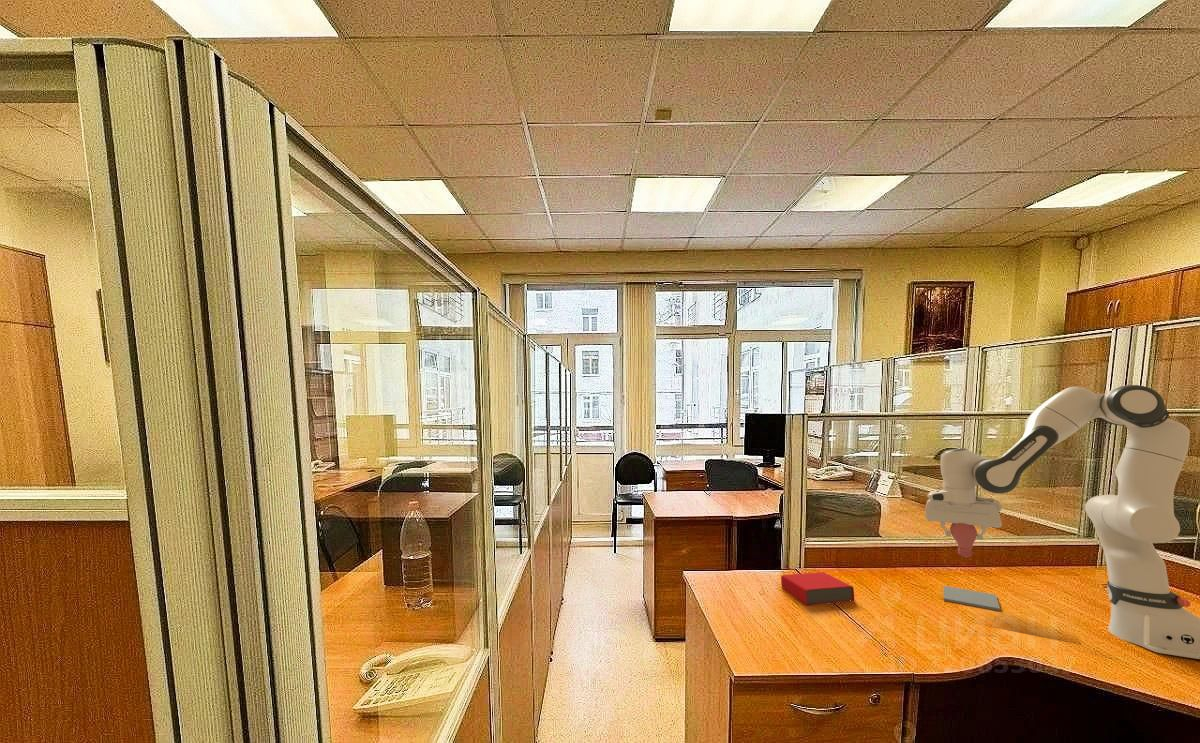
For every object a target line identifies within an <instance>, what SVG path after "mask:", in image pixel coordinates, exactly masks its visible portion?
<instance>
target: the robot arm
mask: <svg viewBox="0 0 1200 743" xmlns="http://www.w3.org/2000/svg"><path fill="white" fill-rule="evenodd" d="M1169 418H1170V414H1169V411H1168V409H1167V406H1166V405H1165V401H1164V399H1163V396H1161V395H1160V393H1159V392H1158V391H1156V390H1154V389H1153V388H1151V387H1148V386H1145V385H1138V384H1128V385H1127V384H1126V385H1121V386H1118V387H1116V388H1113V389H1111V390H1108V391H1107V392H1104V393H1096V392H1094V391H1092V390H1090V389H1087V388H1084V387H1080V386H1069V387H1067V388H1064V389H1062V390H1060V391H1059V392H1056V394H1054V395H1053V396H1051V397H1050V398H1048V399H1046V400H1045V401H1044V402H1043V403H1041V404H1040V405H1039V406H1037V408H1035V409H1034V410H1033V411H1032V412H1031V414H1030V415H1029V416H1028V417H1027V418H1026V420H1025V421H1024V433H1023V435H1022V437H1021V438H1020V439H1019V440H1018V441H1017V442H1016V443H1015V444H1014V445H1013V446H1012V447H1010V449H1008V450H1006V451H1005V453H1004V454H1002V456H1000V457H998V458H995V459H993V458H989V457H986V456H982V455H980V454H977V453H975V452H974V451H973V452H972V451H971V450H969V449H968V448H962V447H961V448H952V449H946V450H945V451H942V453H941V454H940V458H939V459H940V466H939V467H940V474H941V477H942V480H943V481H942V489H939V490H932V491H930V492H928V494H927V498H928V499H927V501H926V504H925V511H924V512H925V514H924V515H925V520H927V521H929V522H936V523H937V522H938V523H940V526H941V528H942V529H943V531H944V533H945V536H946V537H951V536H952V534H951V532H950V529H947V528H946V523H947V524H952V523H955V524H957V523H965V524H968V525H973V526H974V527H975V526H976V527H980V530H981V531H980V532H979V533H978V532H977V537H976V539H977V540H980V541H984V534H985V533H986V531H987V527H988V528H997V529H999V528H1001V527H1002V525H1003V523H1002V519H1001V515H1000V512H1001V511H1002V506H1001V503H1000V501H999V500H997V499H994V498H992V497H989V498H988V497H979V496H978V497H977V493H976V492H977V491H976V486H980V487H981V488H982V489H983V490H985V491H987V492H990V493H992V494H993V493H994V494H1006V493H1009V492H1012V491H1013V490H1014V489H1015V488H1016V487H1017V486H1018V484H1019V481H1020V479H1021V475H1022V474H1023V472H1024V471H1026V469H1027V468H1028V467H1030V466H1031V465H1032V464H1033V463H1034V462H1035V461H1037V460H1038V459H1039V458H1040V457H1041V456H1042V455H1043V454H1045V453H1046V451H1048V450H1050V449H1051V448H1053V447H1054V446H1056V445H1058V444H1059V443H1061V442H1063V441H1065V440H1067V439H1068V438H1069V437H1070V436H1072V435H1074V434H1075V433H1076V432H1078V431H1079V430H1080V429H1081V428H1083V427H1084V426H1085V425H1086V424H1088V423H1089V422H1091V421H1092V420H1098V421H1100V422H1104V423H1106V424H1110V425H1115V426H1125V427H1126V428H1127V431H1128V440H1127V441H1126V444H1125V446H1124V448H1123V450H1122V453H1121V456H1120V457H1119V461H1118V463H1117V466H1116V469H1115V471H1114V472H1115V473H1114V474H1115V476H1116V479H1117V495H1116V494H1101V495H1095V496H1092V497H1091V498H1089V499H1088V500H1087V501H1086V503H1085V507H1084V510H1085V513H1086V515H1087V517H1088V518H1089V519H1090V520H1091V522H1092V525H1093V527H1094V529H1095V533H1096V534H1097V538H1098V540H1099V542H1100V544H1101V547H1102V550H1103V552H1104V558H1105V564H1106V568H1107V570H1106V571H1107V575H1108V576H1107V577H1108V580H1107V582H1106V584H1107V586H1106V589H1107V596H1108V599H1109V602H1110V618H1109V619H1110V620H1109V624H1108V627H1107V630H1108V632H1109V633H1110V634H1112V635H1113V636H1115V637H1116V638H1118V639H1121V640H1122V641H1125V642H1128V643H1131V644H1133V645H1137V646H1139V647H1143V648H1145V649H1148V650H1149V651H1153V652H1154V653H1158V654H1164V655H1171V656H1176V657H1184V658H1191V659H1196V660H1200V617H1198V616H1197V615H1196V614H1193V613H1192V612H1190V611H1189V610H1187V609H1186V608H1189V607H1190V606H1192V603H1191V602H1190V601H1189V600H1188V599H1187V598H1186V597H1182V596H1180V595H1179V594H1177V593H1175V592H1173V591H1171V590H1170V585H1169V577H1168V571H1167V566H1166V562H1165V560H1164V559H1163V558H1162V556H1160V554H1159V553H1158V551H1157V549H1156V548H1155V545H1154V544H1155V543H1156V544H1162V543H1163V544H1164V543H1168V542H1172V541H1173V540H1175V539H1176V538H1177V537H1178V536H1179V535H1180V532H1181V525H1180V522H1179V521H1178V519H1177V518H1176V516H1175V510H1174V508H1175V507H1174V495H1175V487H1176V484H1177V481H1178V479H1179V477H1180V473H1181V471H1182V469H1183V465H1184V463H1185V461H1186V458H1187V455H1188V450H1189V447H1190V439H1191V432H1190V429H1189V428H1188V427H1187V426H1186V425H1185V424H1183V423H1181V422H1179V421H1176V420H1175V419H1171V418H1170V419H1169ZM1184 607H1185V608H1184Z"/></svg>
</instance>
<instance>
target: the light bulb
mask: <svg viewBox="0 0 1200 743" xmlns="http://www.w3.org/2000/svg"><path fill="white" fill-rule="evenodd" d="M949 530H950V534H951V536H952V537H953V540H955V541H956V544H957V547H958V548H957V553H958V555H960V556H962V557H963V558H970V557H973V550H972V549H973V548H974V546H973V545H974V544H975V542H976V539H977V533H978V531H977V529H976V527H975V525H968V524H965V523H957V524H955V523H951V524H950V527H949Z"/></svg>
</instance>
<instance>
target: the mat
mask: <svg viewBox="0 0 1200 743" xmlns="http://www.w3.org/2000/svg"><path fill="white" fill-rule="evenodd" d="M942 587H943V601H944V602H949V603H955V604H959V605H965V606H971V607H975V608H976V607H977V608H980V609H986V610H992V611H996V612H997V611H998V612H1001V608H1000V605H999V601H998V598H997V595H996V594H994V593H989V592H983V591H978V590H973V589H972V590H970V589H965V588H958V587H955V586H947V585H943V586H942Z"/></svg>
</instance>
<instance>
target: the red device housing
mask: <svg viewBox="0 0 1200 743" xmlns="http://www.w3.org/2000/svg"><path fill="white" fill-rule="evenodd" d="M780 581H781V583H780V585H781V588H782V589H784V590H785V591H787V592H788V593H789V594H791V595H792V596H793V597H795V598H796V599H798V600H799V601H801V602H802V603H803V604H805V605H807V606H816V605H815V604H820V605H828V604H827V603H831V604H838V603H837V602H842V603H850V602H849V601H850V600H851V601H853V602H854V601H855V588H854V586H852V585H851V584H849V583H847V582H844V581H843V580H841V579H838V578H836V577H834V576H832V575H831V574H828V573H826V572H824V571H822V572H821V571H820V572H808V573H807V572H806V573H796V574H795V573H794V574H782V575H781V576H780Z"/></svg>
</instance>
